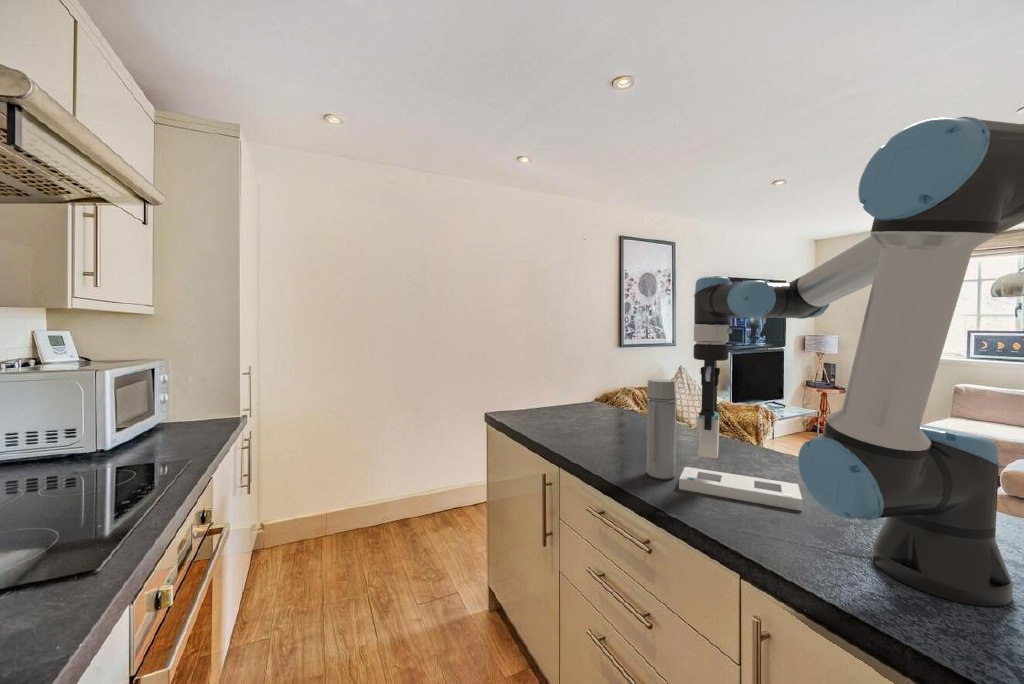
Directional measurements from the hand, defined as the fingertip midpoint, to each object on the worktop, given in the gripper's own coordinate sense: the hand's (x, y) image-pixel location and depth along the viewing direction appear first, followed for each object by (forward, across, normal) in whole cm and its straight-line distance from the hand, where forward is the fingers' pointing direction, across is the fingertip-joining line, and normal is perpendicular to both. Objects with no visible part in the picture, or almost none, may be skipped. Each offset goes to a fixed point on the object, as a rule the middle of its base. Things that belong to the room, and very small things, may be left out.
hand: (708, 440), depth 100 cm
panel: (+12, 0, -6) cm, 13 cm away
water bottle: (+12, +3, +12) cm, 17 cm away
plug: (+4, 0, 0) cm, 4 cm away
